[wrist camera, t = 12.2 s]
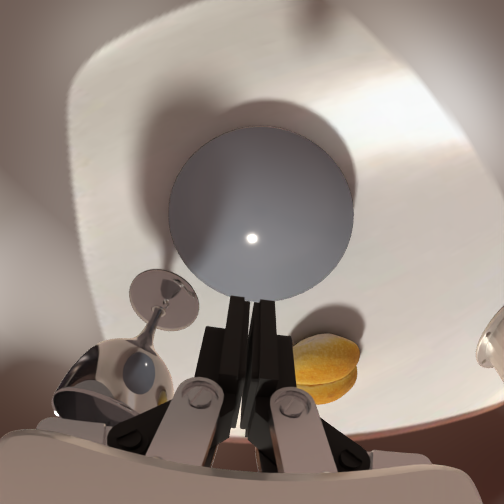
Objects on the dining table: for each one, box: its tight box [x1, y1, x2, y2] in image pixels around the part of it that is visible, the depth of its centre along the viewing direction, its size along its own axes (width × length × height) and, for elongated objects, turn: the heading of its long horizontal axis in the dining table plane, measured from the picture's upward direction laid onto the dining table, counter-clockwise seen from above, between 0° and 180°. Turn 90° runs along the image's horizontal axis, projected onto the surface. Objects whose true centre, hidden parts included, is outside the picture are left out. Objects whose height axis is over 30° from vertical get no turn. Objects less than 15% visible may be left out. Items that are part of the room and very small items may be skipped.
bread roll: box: [293, 333, 360, 405], centre depth 29 cm, size 8×9×4 cm
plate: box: [169, 126, 354, 302], centre depth 24 cm, size 14×14×2 cm
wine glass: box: [52, 270, 199, 427], centre depth 22 cm, size 8×8×15 cm
